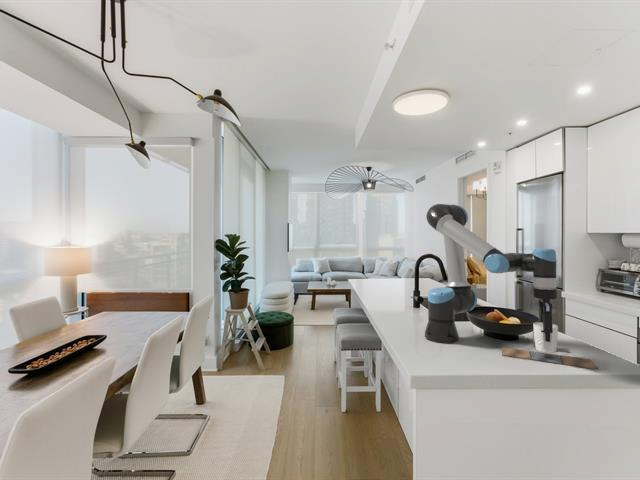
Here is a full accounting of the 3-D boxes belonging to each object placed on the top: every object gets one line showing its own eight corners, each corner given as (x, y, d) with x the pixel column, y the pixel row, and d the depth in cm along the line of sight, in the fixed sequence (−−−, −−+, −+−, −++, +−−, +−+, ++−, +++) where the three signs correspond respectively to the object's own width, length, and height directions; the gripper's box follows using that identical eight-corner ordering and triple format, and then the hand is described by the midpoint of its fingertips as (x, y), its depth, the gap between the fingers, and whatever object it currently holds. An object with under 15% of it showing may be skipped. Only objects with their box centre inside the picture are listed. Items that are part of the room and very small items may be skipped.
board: (502, 355, 127) (502, 354, 127) (501, 348, 136) (501, 347, 136) (598, 369, 113) (598, 368, 113) (590, 360, 121) (590, 359, 121)
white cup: (551, 355, 119) (550, 328, 119) (529, 349, 126) (529, 323, 126) (562, 351, 122) (562, 325, 122) (540, 346, 129) (540, 321, 129)
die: (534, 349, 135) (534, 334, 135) (532, 344, 140) (532, 331, 140) (551, 351, 132) (551, 336, 132) (549, 346, 137) (549, 332, 137)
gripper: (561, 292, 113) (562, 356, 113) (552, 285, 131) (553, 340, 131) (536, 291, 117) (537, 353, 117) (530, 284, 135) (531, 337, 135)
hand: (545, 346), depth 124 cm, fingers closed on white cup, 8 cm apart
